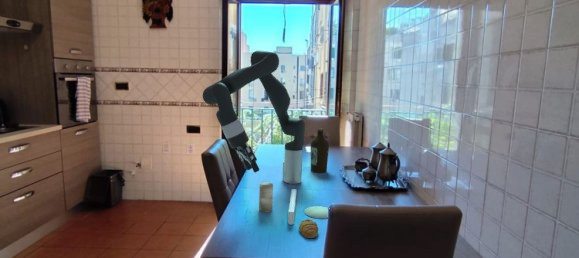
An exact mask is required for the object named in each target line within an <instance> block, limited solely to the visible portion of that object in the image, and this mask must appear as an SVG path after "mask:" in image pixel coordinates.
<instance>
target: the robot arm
mask: <svg viewBox="0 0 579 258" xmlns="http://www.w3.org/2000/svg"><path fill="white" fill-rule="evenodd" d="M279 64H280V58H279V55H278V54H277V52H274V51H269V50H255V51H254V52H252V54H251V55H250V66H245V67H243V68H238V69H237V70H235V71H232V72H231V73H229V74H228V75H226V76H224V78H222V79H221V80H219V81H217V82H214V83H213V84H211V85H209V86H207V87H205V88H204V90H203V91H202V99H203V101H204V102H205V103H206V105H207V104H208V105H209V106H212V105H217V107H218V110H217V111H216V113H215V115H216V118H217V120H218V123H219V125H220V128H222V132H223V134H224V136H225V138H226V140H227V142H228V144H229V147H230V148H231V149H234V150H235V152H236V154H237V156H238V159H239V161H241V163H243V165H244V166H245V168H246V170H247V171H249V170H253V172H254V173H255V174H256V173H257V172H259V171H260V168H259V165H258V163H257V160H258V159H257V156H256V155H255V153H254V151H253V149H252V146H250V145H249V146H248V145H247V143H248V142H249V141H250V138H249V136H248V134H247V132H246V130H245V128H244V126H243V124H242V122H241V121H240V119H239V118H238V115H237V113H236V111H235V109H234V103H233V100H232V95H233V94H235V93H236V92H238V91H240V90H241V89H242V88H244V87H245V86H247V85H248V84H251V83H252V82H255V81H256V80H259V81H260V83H261V85H262V86H263V89H264V90H265V93H266V95H267V97H268V100H269V101H270V104H271V105H272V107H273V110H274V112H275V114H276V116H277V120H278V122H279V125H280V127H281V131H282V133H283V134H284V135H285V136H291V137H293V140H292V141H288V142H285V144H284V158H283V159H284V161H283V163H282V181H283V182H284V183H286V184H291V185H293V184H295V185H296V184H300V183H301V182H302V172H303V152H304V151H303V149H304V148H303V147H304V142H305V131H306V124H305V121H304V119H302V118H299V117H298V118H297V117H296V118H295V117H290V115H289V113H288V110H289V107H290V105H291V96H290V94H289V92H288V90H287V88H286V86H285V85H284V84H283V83H282V82H281V81H280V80H279V79H278V78H276V76H274V75H273V73H275V71H277V70H278V68H279V66H280V65H279Z"/></svg>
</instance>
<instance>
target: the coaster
mask: <svg viewBox="0 0 579 258" xmlns="http://www.w3.org/2000/svg"><path fill="white" fill-rule="evenodd" d="M328 208H329V207H326V206H321V205H319V206H318V205H317V206H314V205H313V206H309V207H307V208H305V209H304V214H305V215H306V216H308V217H310V218H313V219H321V220H322V219H328V218H327V214H328Z"/></svg>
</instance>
